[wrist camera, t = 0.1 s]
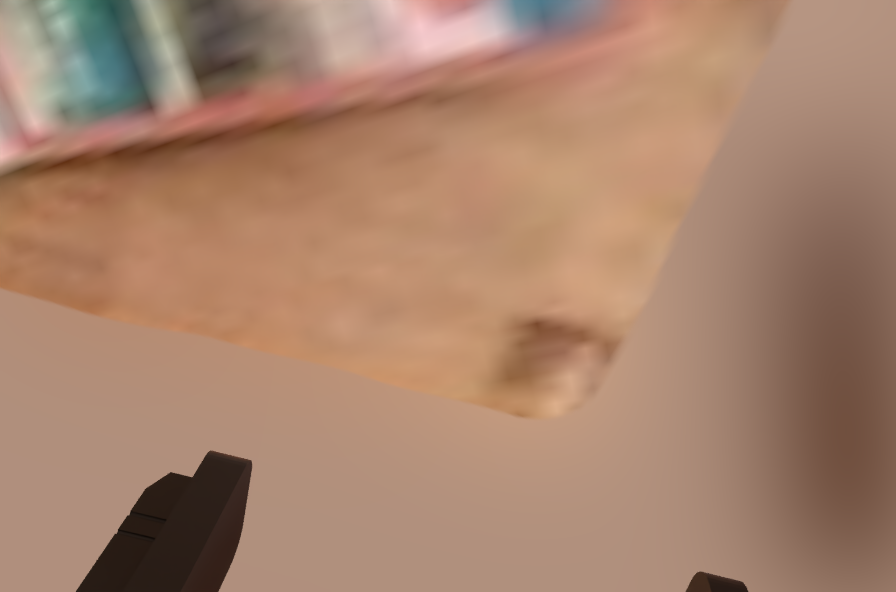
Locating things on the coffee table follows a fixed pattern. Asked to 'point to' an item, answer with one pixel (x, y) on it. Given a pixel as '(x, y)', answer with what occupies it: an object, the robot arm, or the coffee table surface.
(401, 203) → the coffee table surface
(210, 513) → the robot arm
